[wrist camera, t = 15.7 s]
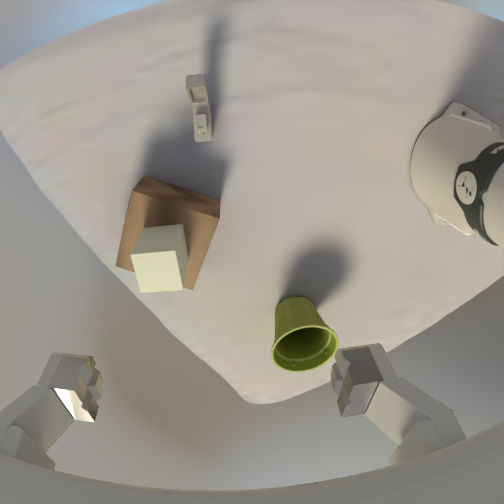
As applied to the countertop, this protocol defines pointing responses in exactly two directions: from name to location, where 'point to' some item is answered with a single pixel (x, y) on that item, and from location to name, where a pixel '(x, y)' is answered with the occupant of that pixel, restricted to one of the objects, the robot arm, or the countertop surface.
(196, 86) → the lighter
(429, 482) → the robot arm
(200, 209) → the walnut block
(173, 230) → the sage block
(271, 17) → the countertop surface
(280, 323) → the plant pot
